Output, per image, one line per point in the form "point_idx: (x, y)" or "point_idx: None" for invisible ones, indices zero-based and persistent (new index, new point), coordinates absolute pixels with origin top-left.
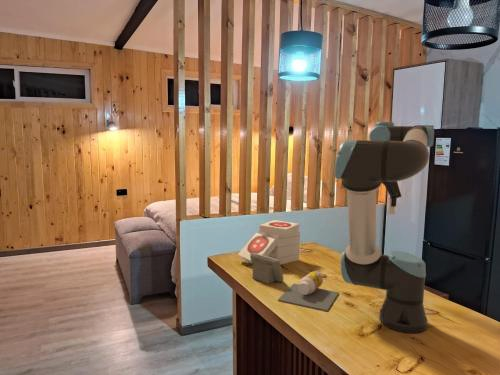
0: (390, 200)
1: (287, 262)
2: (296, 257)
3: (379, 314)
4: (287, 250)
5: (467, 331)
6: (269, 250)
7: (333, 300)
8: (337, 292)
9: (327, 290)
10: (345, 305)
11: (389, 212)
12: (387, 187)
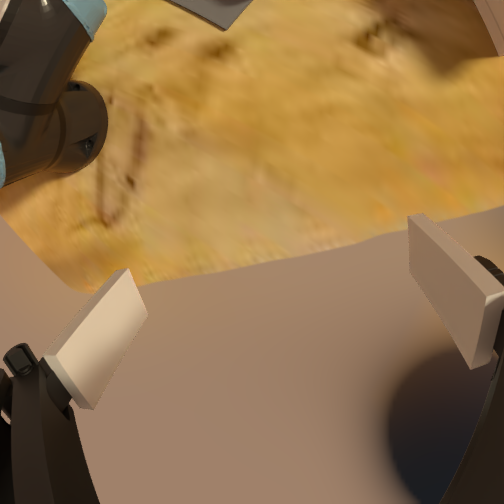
0: (55, 344)
1: (479, 11)
2: (499, 44)
3: (77, 81)
4: (499, 2)
5: (47, 227)
6: None
7: (177, 3)
8: (224, 25)
9: (243, 4)
10: (153, 26)
11: (109, 279)
12: (23, 462)
